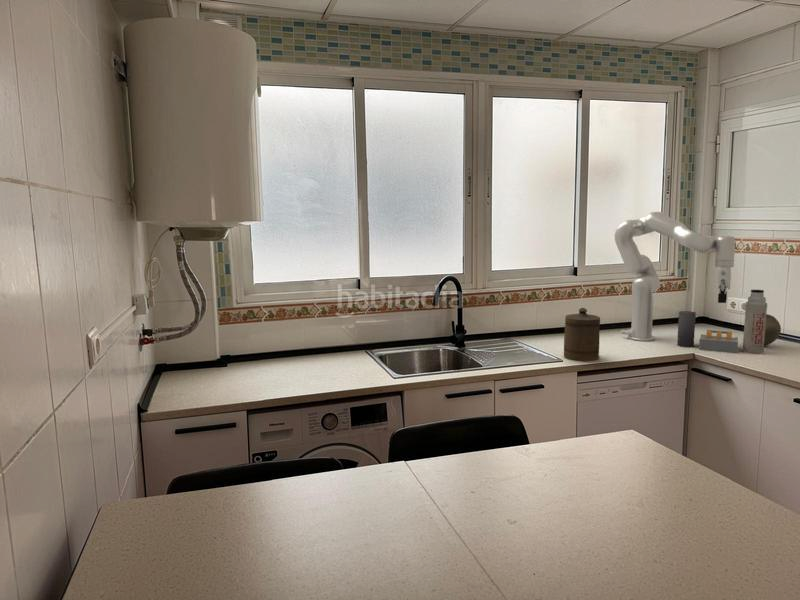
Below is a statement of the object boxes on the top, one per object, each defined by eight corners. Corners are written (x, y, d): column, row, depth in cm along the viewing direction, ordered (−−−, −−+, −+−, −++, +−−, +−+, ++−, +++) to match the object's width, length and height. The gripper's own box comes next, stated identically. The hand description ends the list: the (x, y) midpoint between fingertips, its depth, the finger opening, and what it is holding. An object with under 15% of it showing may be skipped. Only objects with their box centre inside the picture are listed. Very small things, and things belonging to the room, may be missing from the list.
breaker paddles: (706, 337, 261) (706, 330, 260) (706, 335, 262) (707, 329, 261) (731, 339, 256) (731, 332, 255) (731, 337, 257) (732, 331, 256)
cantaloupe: (740, 346, 263) (742, 314, 260) (747, 341, 273) (749, 310, 271) (776, 351, 253) (779, 318, 251) (782, 345, 263) (785, 313, 261)
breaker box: (699, 349, 258) (699, 338, 257) (700, 344, 268) (701, 333, 268) (737, 353, 251) (737, 341, 250) (737, 347, 261) (737, 336, 260)
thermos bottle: (765, 354, 248) (770, 291, 243) (744, 353, 250) (748, 290, 246) (761, 350, 255) (766, 289, 251) (740, 349, 258) (745, 288, 254)
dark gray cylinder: (679, 347, 264) (681, 313, 261) (675, 343, 270) (676, 311, 268) (695, 347, 262) (697, 313, 260) (690, 344, 269) (692, 311, 267)
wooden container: (602, 355, 252) (604, 306, 248) (594, 362, 239) (595, 311, 236) (569, 351, 259) (570, 304, 256) (559, 358, 247) (560, 309, 244)
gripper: (733, 265, 244) (731, 304, 247) (733, 262, 259) (732, 299, 261) (713, 265, 248) (712, 303, 251) (715, 262, 263) (713, 298, 265)
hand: (722, 301), depth 256 cm, fingers open, 9 cm apart
